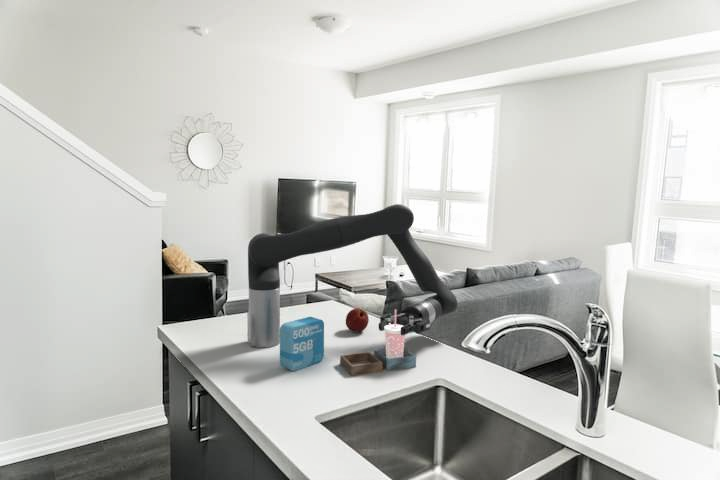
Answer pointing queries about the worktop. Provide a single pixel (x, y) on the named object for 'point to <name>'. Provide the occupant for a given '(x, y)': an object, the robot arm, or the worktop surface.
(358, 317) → the apple
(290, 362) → the data package
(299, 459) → the worktop surface
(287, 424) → the worktop surface
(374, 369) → the cup dock
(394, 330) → the beverage cup
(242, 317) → the worktop surface
